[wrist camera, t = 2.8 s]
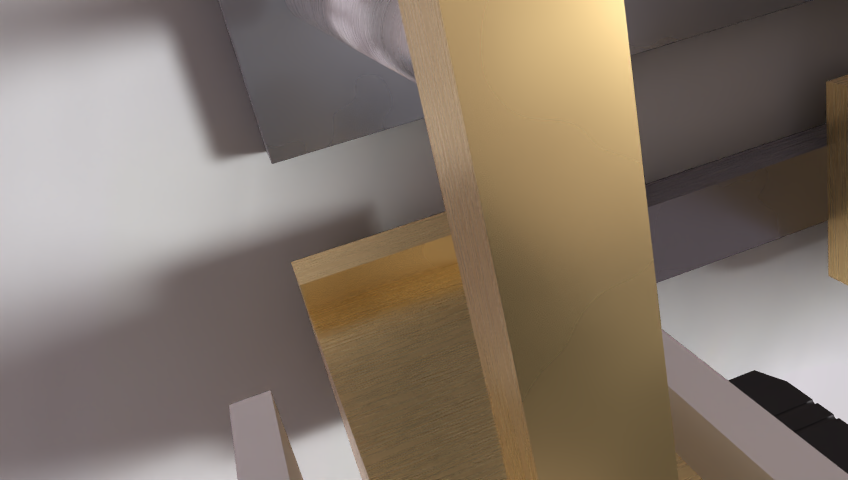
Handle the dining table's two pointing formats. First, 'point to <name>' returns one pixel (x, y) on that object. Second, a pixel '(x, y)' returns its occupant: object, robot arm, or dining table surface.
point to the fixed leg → (837, 177)
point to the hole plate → (384, 88)
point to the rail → (738, 202)
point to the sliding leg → (502, 256)
